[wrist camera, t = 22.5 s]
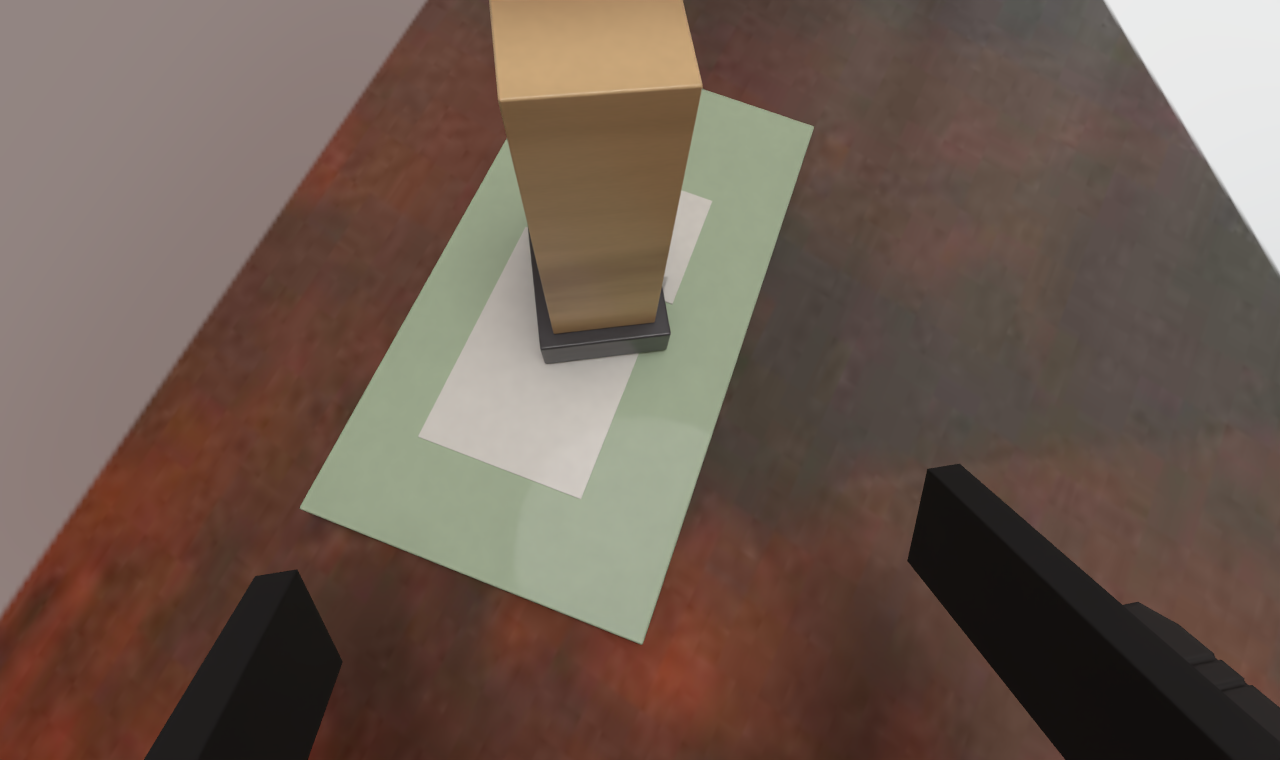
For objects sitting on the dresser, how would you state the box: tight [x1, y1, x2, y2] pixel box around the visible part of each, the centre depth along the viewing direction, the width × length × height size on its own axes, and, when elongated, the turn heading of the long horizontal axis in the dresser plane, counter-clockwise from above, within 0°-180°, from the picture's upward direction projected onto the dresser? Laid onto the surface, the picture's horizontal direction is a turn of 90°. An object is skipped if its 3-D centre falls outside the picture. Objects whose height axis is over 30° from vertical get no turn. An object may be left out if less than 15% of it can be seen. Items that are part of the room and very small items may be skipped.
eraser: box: [489, 0, 703, 364], centre depth 15 cm, size 6×4×12 cm
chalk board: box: [300, 89, 814, 644], centre depth 21 cm, size 22×12×1 cm, turn 160°
